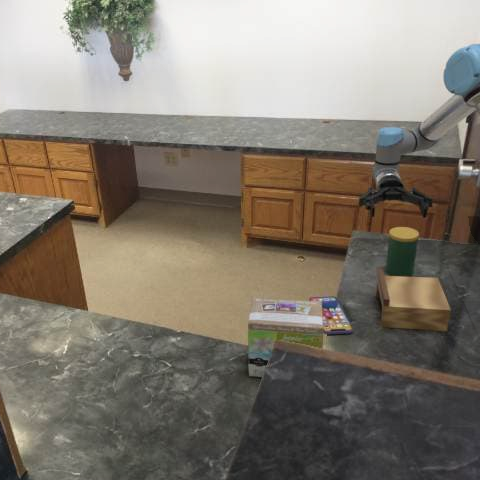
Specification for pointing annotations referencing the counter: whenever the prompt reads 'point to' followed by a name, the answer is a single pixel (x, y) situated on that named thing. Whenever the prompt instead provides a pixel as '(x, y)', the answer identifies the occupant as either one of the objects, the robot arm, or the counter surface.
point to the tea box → (281, 327)
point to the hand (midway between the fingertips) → (398, 212)
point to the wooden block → (412, 302)
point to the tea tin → (401, 251)
